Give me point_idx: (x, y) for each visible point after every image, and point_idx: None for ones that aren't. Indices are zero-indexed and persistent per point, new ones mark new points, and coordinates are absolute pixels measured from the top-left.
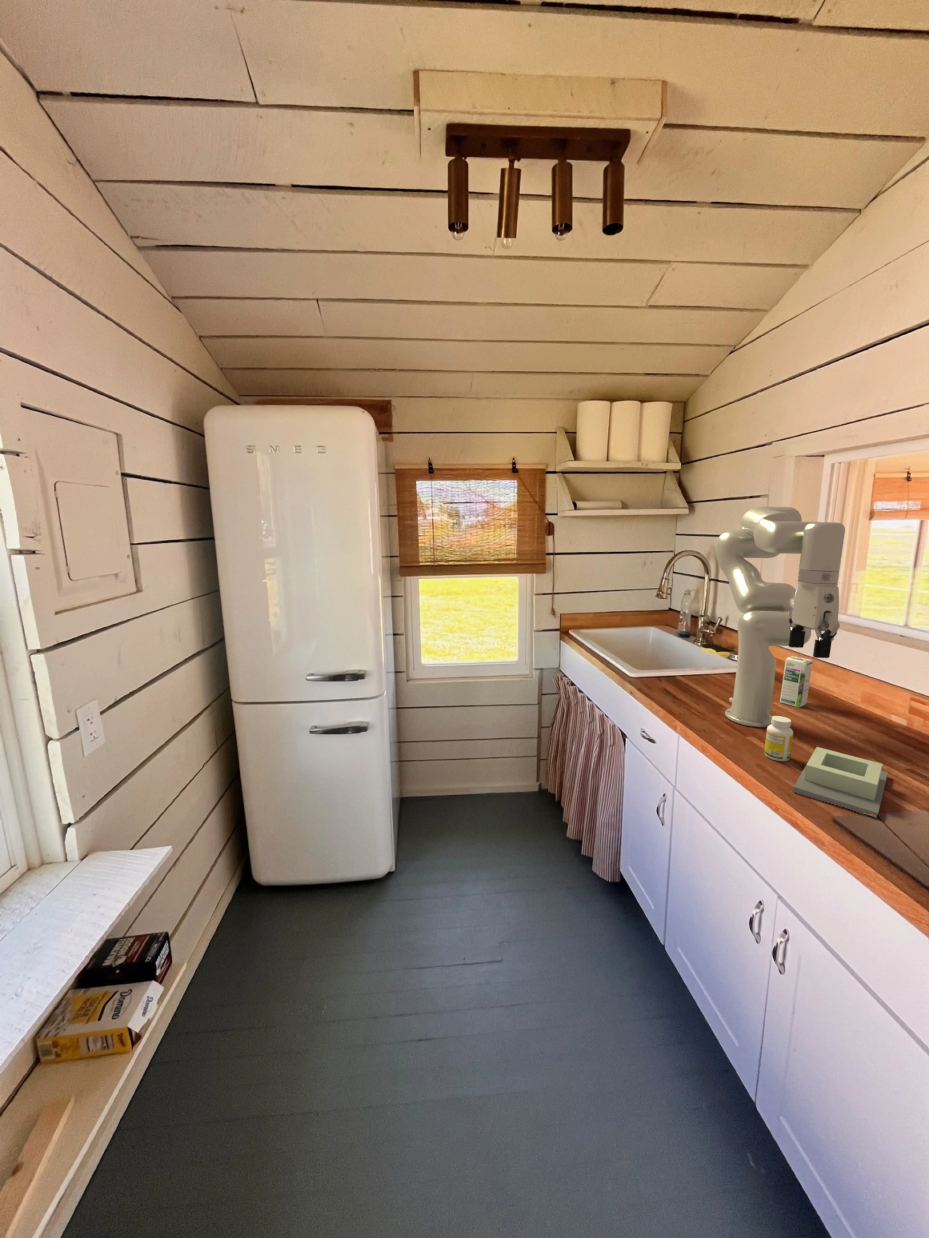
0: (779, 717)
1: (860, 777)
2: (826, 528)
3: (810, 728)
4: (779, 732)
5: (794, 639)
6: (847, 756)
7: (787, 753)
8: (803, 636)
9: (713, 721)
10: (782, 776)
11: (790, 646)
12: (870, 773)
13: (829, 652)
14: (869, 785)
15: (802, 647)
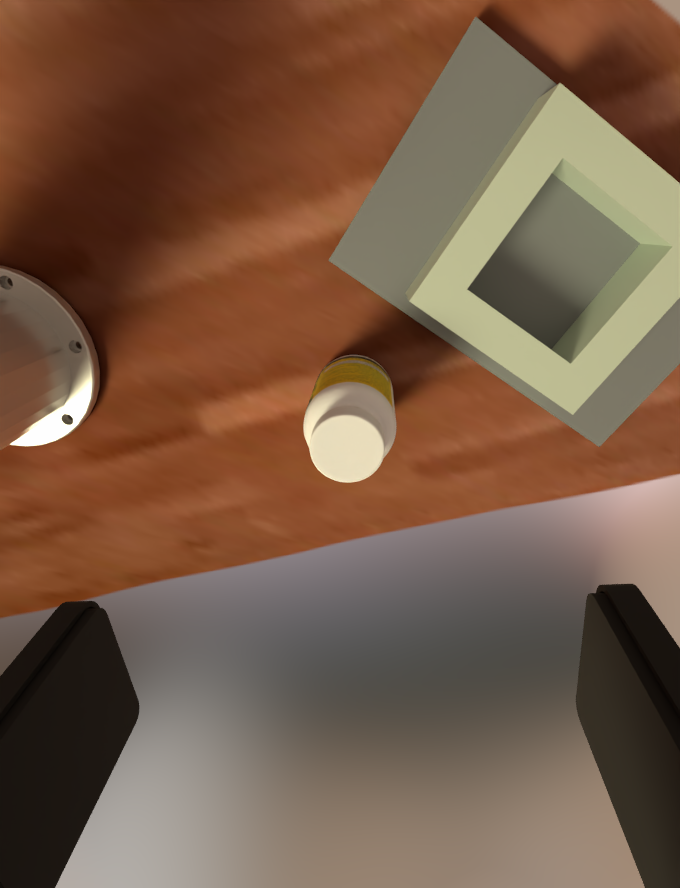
0: (328, 450)
1: (677, 265)
2: None
3: (15, 121)
4: (389, 449)
5: (84, 776)
6: (492, 213)
7: (390, 384)
8: (17, 741)
9: (94, 493)
10: (495, 429)
11: (131, 713)
12: (646, 201)
13: (667, 636)
14: None
15: (94, 602)
